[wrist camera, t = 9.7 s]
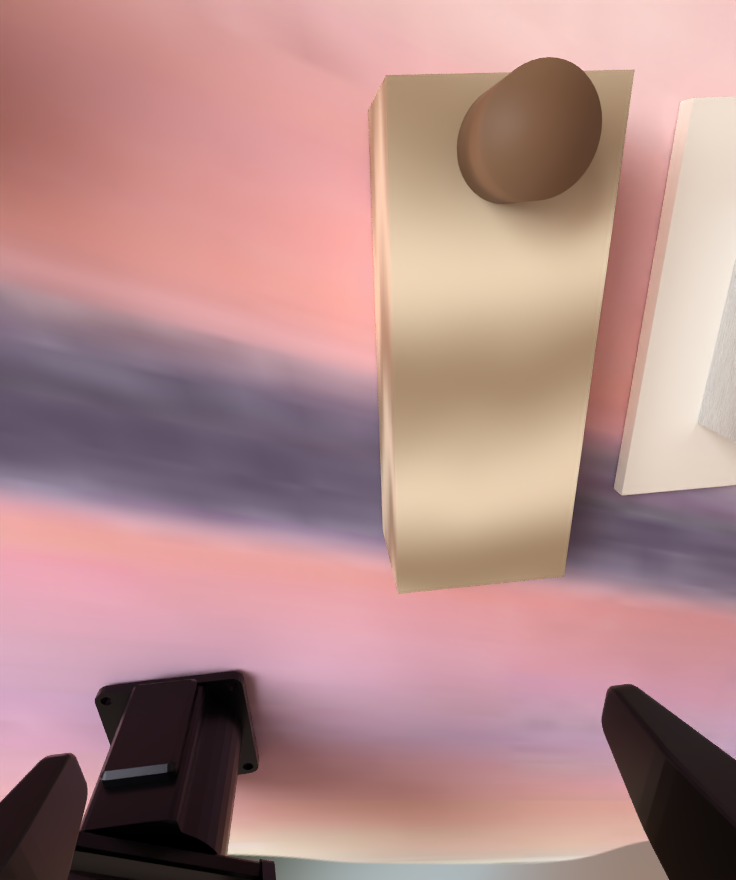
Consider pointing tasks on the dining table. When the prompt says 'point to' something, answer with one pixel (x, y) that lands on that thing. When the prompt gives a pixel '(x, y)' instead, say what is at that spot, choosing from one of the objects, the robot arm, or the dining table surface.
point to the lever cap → (723, 374)
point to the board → (685, 312)
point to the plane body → (488, 310)
